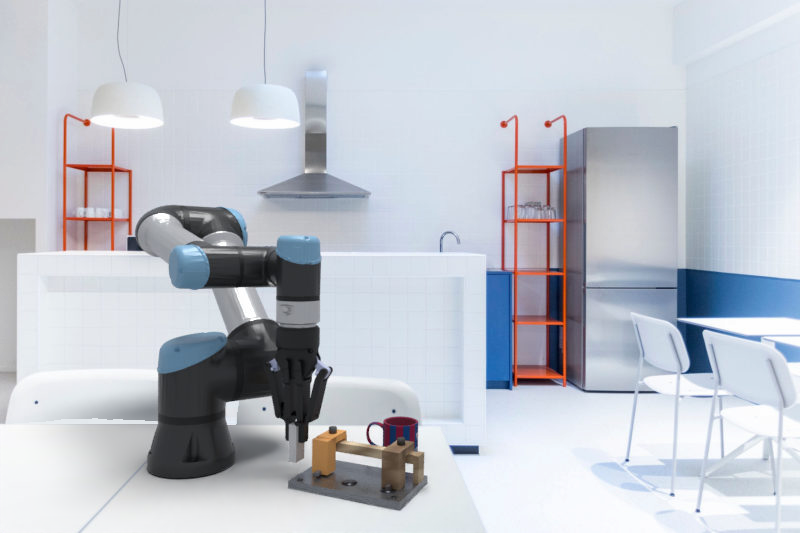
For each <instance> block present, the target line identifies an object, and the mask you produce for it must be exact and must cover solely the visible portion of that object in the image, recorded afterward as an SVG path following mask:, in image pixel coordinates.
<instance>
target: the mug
mask: <svg viewBox="0 0 800 533" xmlns="http://www.w3.org/2000/svg"><path fill="white" fill-rule="evenodd" d="M375 425H376V426H378V427H380V428H381V429H382V446H383V447H387V446H389V445H391V444H392V443H394V442H395V441H397V438H398V437H404V438H405V441H412V442H414V451H415V452H418V451H419V420H418V419H416V418H414V417H409V416H390V417H387V418H385V419H384V420H383V421H382V422H379V421H372V422H370V423H368V425H367V428H366V432H365V434H366V435H365V436H366V440H367V442H368V444H370V445H376V446H379V445H378V444H376V443H374V442H373V440H372V439H371V437H370V428H371V427H372V426H375Z"/></svg>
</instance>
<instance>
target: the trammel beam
mask: <svg viewBox="0 0 800 533" xmlns="http://www.w3.org/2000/svg"><path fill="white" fill-rule="evenodd" d="M376 445H377V444H376ZM376 445H370V444H369V443H364V442H363V443H362V442H357V441H356V442H355V441H351V440H347V441H344V440H341V441H339V442H337V443H336V453H337V452H338V453H342V454H343V453H344V454H348V455H349V454H350V455H354V456H360V457H367V458H373V459H378V460H381V468H382V475H381V487H385V491H390V490H391V489H396V490H399V489H401V488H402V487H403V486H404V485H405V472H406V464H409V465H412V473H413V483H414V484H419V483H420V482H422V481H423V480H424V474H425V452H424V451H420V450H418V452H415V451H414V442H412V441H405V438H404V437H398V438H397V441H395V442H394V443H392V444H391V445H389V446H387V447H383V445H382V446H381V445H378V446H376Z"/></svg>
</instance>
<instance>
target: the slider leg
mask: <svg viewBox="0 0 800 533" xmlns="http://www.w3.org/2000/svg"><path fill="white" fill-rule="evenodd" d="M341 440H344V441H348V435H347V430H343V429H339V428H338V426H336V425H331V426H330V425H329V427H328V430H326V431H324V432H322V433H320V434H319V435H317V436H315V437H314V438H312V440H311V452H312V453H311V466H312V473H314V476H320V475H321V474H322V475H329V474H330V473H332V472H333V471H335V466H336V460H337V458H336V453H337V452H336V443H337V442H339V441H341Z"/></svg>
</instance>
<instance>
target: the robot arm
mask: <svg viewBox="0 0 800 533" xmlns="http://www.w3.org/2000/svg"><path fill="white" fill-rule="evenodd" d="M248 235H249V234H248V231H247V223H246V221H245V218H244V217H243V215H242V214H241V213H240V211H238V210H237V209H234V208H229V207H225V206H217V207H213V206H197V205H179V204H166V205H161V206H158V207H155V208H153V209H150V210H148V211H147V212H145V213H144V214H143V215H142V216H141V217H140V218H139V219H138V220H137V223H136V225H135V230H134V237H135V240H136V243H137V245H138V246H139V248H140V249H141V250H142V251H144V252H145V253H146V254H147V255H149V256H152V257H154V258H160V259H161V260H163V261H164V263H166V264H167V265H168V275H169V276H168V277H169V278H170V281H171V284H172V286H173V287H174V288H176V289H179V290H180V289H181V290H183V289H184V290H192V291H197V290H207V289H208V290H209V289H211V290H212V292H213V296H214V299H215V301H216V304H217V307H218V310H219V312H220V315H221V317H222V320H223V323H224V325H225V328H226V331H227V335H226V334H225V333H224V332H220V331H209V332H208V331H207V332H204V331H203V332H194V333H191V334H190V333H189V334H185V335H181V336H177V337H174V338H171V339H169V340H166V341H165V342H164V343H162V345H161V346H160V348H159V351H158V359H157V360H158V362H157V366H156V367H157V368H156V371H157V375H158V376H157V377H158V378H157V426H156V429H155V432H154V435H153V438H152V441H151V445H150V449H149V450H148V452H147V457H146V460H147V461H146V466H147V467H146V469H147V471H148V473H150V474H152V475H155V476H157V477H162V478H169V479H190V478H191V479H192V478H198V477H204V476H209V475H213V474H216V473H220V472H222V471H224V470H226V469H228V468H230V467H231V466H232V465H234V463H235V461H236V447H235V444H234V443H233V441H232V437H231V433H230V430H229V429H230V428H229V426H228V423H227V419H226V415H227V414H226V406H227V403H230V402H238V401H245V400H253V399H254V400H255V399H259V398H268V397H269V398H270V397H271V399H272V400H271V401H272V406H273V412H274V416H275V418H276V419H281V420H283V421H284V424H285V425H284V426H285V427H284V429H285V430H284V432H285V433H284V434H285V435H284V437H285V441H287V442H288V462H289V463H294V464H297V463H298V462H299V463H300V461H302V460H304V459H305V447H306V446H305V443H307V442H308V440H309V429H310V428H309V424H310V423H312V422H314V421H316V420H318V419H319V417H320V414H321V410H322V406H323V401H324V396H325V393H326V388H327V384H328V379H329V378H330V377H331V375H332V374H333V371H334V370H333V367H332V366H330V365H329V366H327V365H325V363H324V362H323V361H322V360H321V359H322V358H321V355H320V352H319V348H320V344H321V343H320V342H321V340H320V339H321V335H320V334H321V328H320V327H319V325H317V324H319V323H321V279H322V278H321V275H322V274H321V273H322V270H321V269H322V254H321V241H320V239H319V237H317V236H315V235H300V234H299V235H293V234H290V235H289V234H287V235H286V234H284V235H280V236H279V237H278V238H277V240H276V246H273V245H271V246H269V245H265V246H263V245H262V246H259V245H258V246H257V245H256V246H253V245H252V246H251V245H248V240H249V238H248V237H249V236H248ZM247 245H248V246H247ZM256 288H276V290H275V291H276V292H275V293H276V295H275V303H276V305H275V319H272V318H270V317H268V314H267V311H266V309H265V307H264V305H263V302H262V299H261V297H260V294H259V293H258V291H257V289H256ZM314 372H315V373H314ZM313 374H314V375H315V378H314V381H313ZM312 382H313V385H312V389H311V384H312Z"/></svg>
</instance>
